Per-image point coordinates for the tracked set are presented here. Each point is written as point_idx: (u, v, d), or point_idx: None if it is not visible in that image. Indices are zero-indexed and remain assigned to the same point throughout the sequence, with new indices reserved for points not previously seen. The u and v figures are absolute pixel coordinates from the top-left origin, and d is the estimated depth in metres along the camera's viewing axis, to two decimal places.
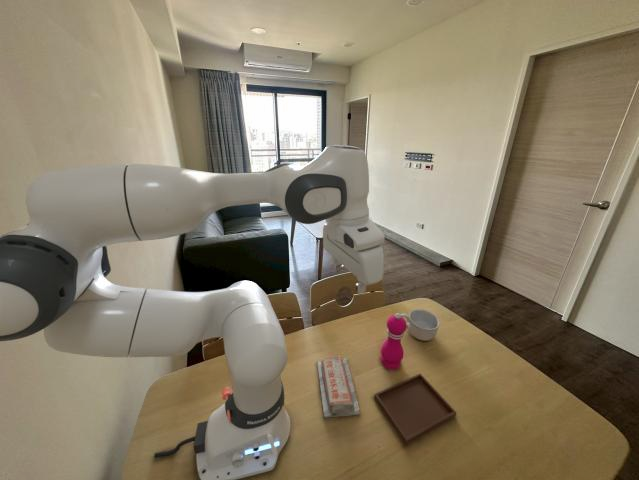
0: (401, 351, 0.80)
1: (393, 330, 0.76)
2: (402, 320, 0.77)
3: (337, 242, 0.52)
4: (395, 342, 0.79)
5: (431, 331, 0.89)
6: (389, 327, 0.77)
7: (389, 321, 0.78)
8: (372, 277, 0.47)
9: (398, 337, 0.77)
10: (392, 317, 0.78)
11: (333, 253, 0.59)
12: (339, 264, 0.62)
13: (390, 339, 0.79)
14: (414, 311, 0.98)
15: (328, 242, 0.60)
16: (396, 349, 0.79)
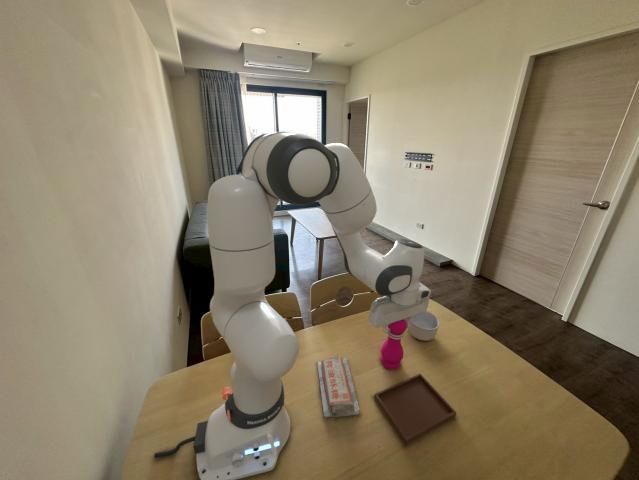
0: (401, 351, 0.80)
1: (393, 330, 0.76)
2: (402, 320, 0.77)
3: (409, 304, 0.73)
4: (395, 342, 0.79)
5: (431, 331, 0.89)
6: (389, 327, 0.77)
7: None
8: None
9: (398, 337, 0.77)
10: None
11: (391, 320, 0.74)
12: (386, 327, 0.77)
13: (390, 339, 0.79)
14: None
15: (384, 318, 0.72)
16: (396, 350, 0.79)
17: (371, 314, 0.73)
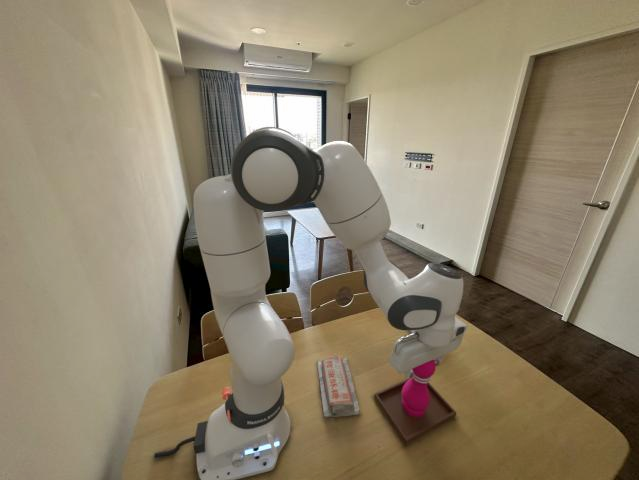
0: (428, 396, 0.66)
1: (419, 373, 0.62)
2: None
3: None
4: (420, 386, 0.65)
5: None
6: (414, 369, 0.63)
7: None
8: None
9: (425, 381, 0.63)
10: None
11: (419, 363, 0.60)
12: None
13: (415, 382, 0.65)
14: None
15: (411, 361, 0.58)
16: (422, 395, 0.65)
17: (394, 356, 0.58)
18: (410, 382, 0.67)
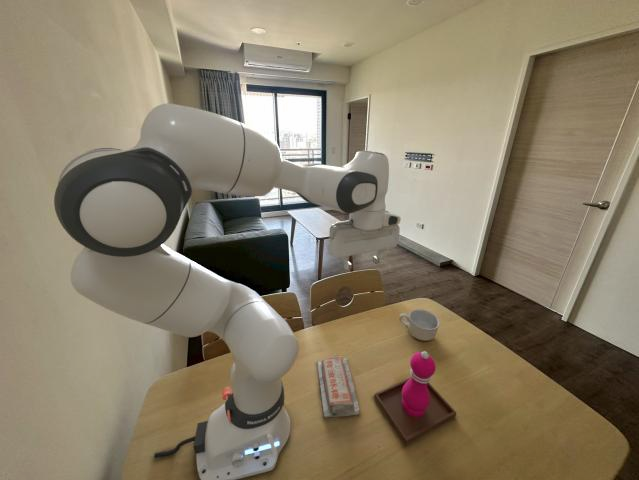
0: (428, 396, 0.66)
1: (419, 373, 0.62)
2: (430, 360, 0.63)
3: (375, 231, 0.63)
4: (421, 386, 0.64)
5: (431, 331, 0.89)
6: (414, 369, 0.63)
7: (414, 361, 0.63)
8: None
9: (425, 381, 0.63)
10: (417, 356, 0.64)
11: (354, 251, 0.64)
12: None
13: (415, 382, 0.65)
14: (414, 311, 0.98)
15: (346, 246, 0.62)
16: (422, 395, 0.65)
17: (330, 242, 0.63)
18: (410, 382, 0.67)
